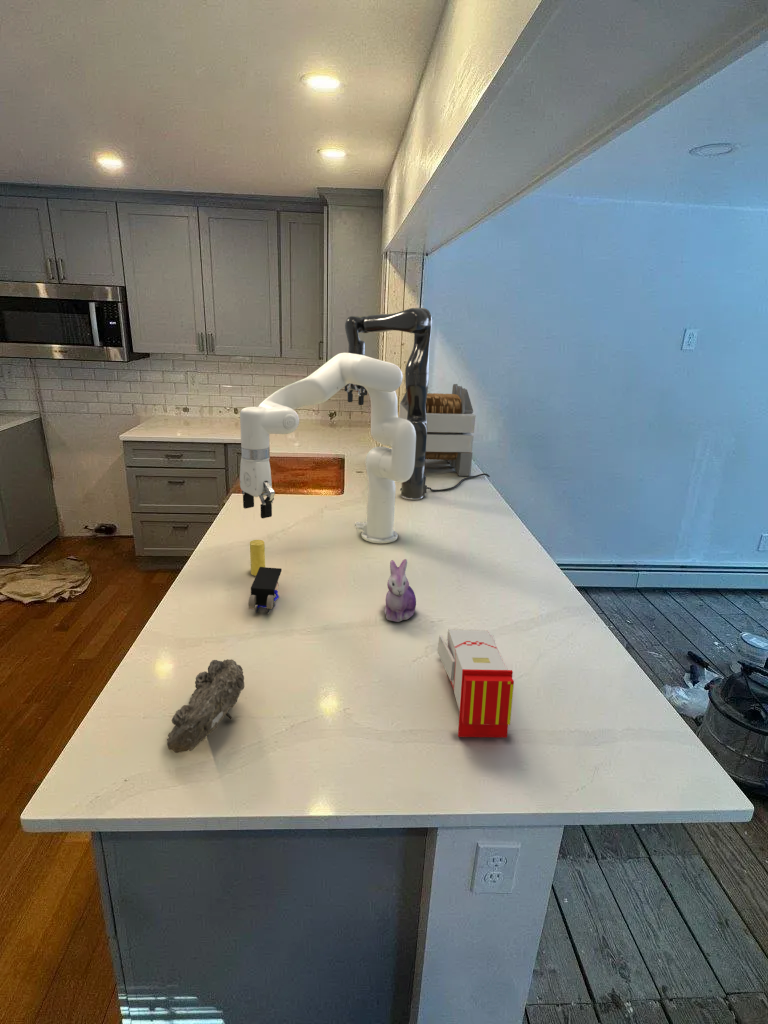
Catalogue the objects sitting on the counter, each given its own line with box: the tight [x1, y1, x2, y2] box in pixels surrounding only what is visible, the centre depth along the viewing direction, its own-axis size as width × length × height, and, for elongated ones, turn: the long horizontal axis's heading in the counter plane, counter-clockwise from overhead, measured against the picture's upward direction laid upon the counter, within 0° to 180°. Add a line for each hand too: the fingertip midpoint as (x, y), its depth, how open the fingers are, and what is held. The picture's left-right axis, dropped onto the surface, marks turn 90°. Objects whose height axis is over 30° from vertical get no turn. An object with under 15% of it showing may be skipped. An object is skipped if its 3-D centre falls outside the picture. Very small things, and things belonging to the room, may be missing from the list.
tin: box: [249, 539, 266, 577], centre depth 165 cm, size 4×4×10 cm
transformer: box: [398, 383, 476, 477], centre depth 280 cm, size 34×33×41 cm
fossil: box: [166, 658, 245, 754], centre depth 106 cm, size 22×10×15 cm
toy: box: [437, 628, 515, 738], centre depth 117 cm, size 12×13×30 cm
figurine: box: [384, 558, 417, 623], centre depth 145 cm, size 9×10×15 cm
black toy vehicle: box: [248, 566, 283, 614], centre depth 148 cm, size 7×8×15 cm
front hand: (257, 512), depth 160 cm, fingers open, 9 cm apart
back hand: (355, 403), depth 248 cm, fingers open, 8 cm apart
